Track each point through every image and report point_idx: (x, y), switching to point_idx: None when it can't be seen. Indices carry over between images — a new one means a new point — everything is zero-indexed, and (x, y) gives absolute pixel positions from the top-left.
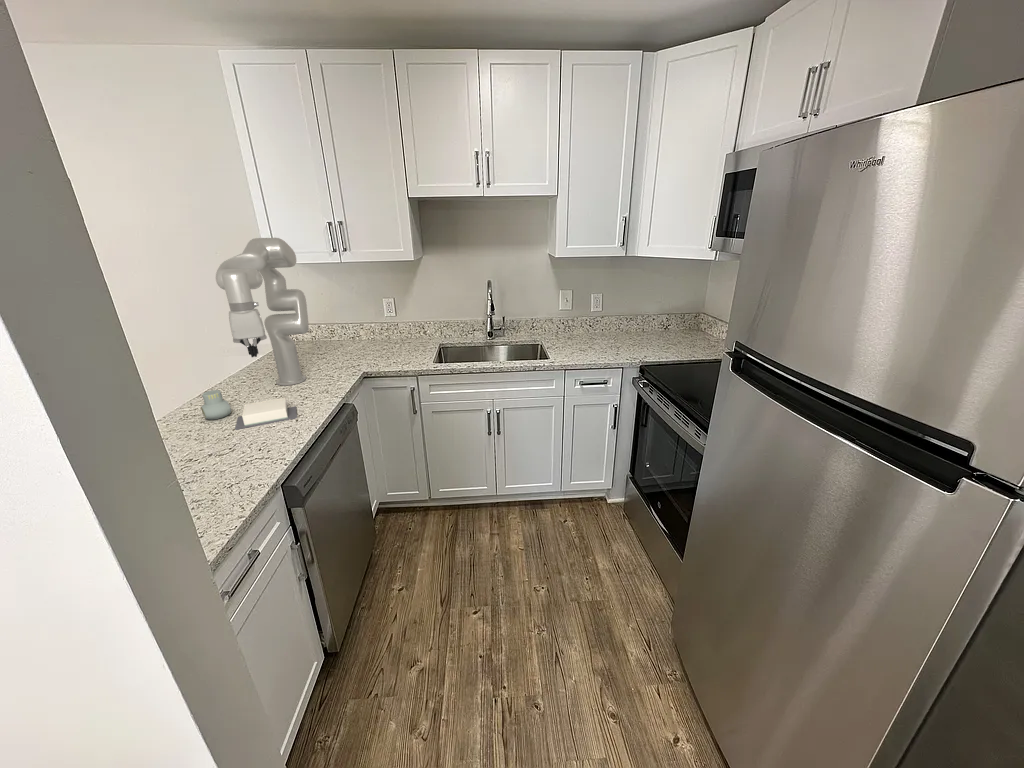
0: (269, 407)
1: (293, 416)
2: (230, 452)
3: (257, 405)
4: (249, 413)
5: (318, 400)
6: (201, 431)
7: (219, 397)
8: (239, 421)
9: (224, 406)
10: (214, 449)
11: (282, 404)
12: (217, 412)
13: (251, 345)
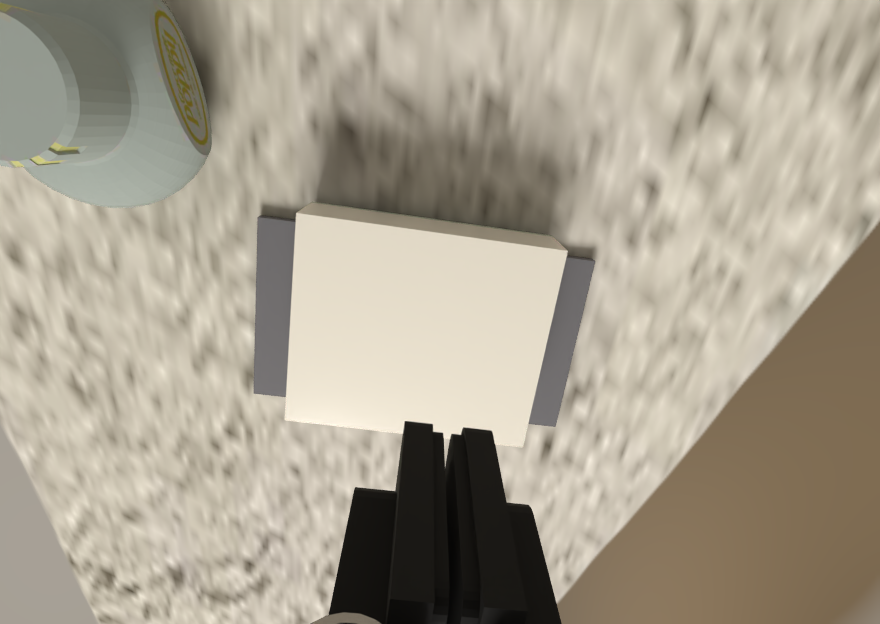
0: (441, 379)
1: (542, 411)
2: (251, 595)
3: (376, 297)
4: (325, 406)
5: (744, 218)
6: (80, 298)
7: (92, 142)
8: (271, 305)
9: (157, 174)
10: (184, 538)
11: (520, 375)
12: (124, 207)
13: (435, 622)
